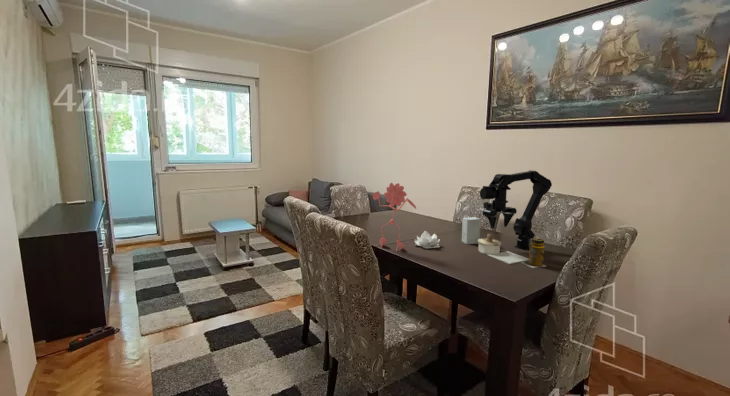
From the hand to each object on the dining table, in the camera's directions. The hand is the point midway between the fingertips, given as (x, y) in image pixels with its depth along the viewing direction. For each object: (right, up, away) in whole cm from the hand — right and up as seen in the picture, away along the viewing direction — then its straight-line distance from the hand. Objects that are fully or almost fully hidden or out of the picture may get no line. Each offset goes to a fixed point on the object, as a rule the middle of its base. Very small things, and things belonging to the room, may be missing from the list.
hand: (498, 227), depth 176 cm
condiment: (+8, -16, -21) cm, 27 cm away
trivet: (0, -14, -12) cm, 18 cm away
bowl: (-6, -13, -2) cm, 14 cm away
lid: (-6, -8, -3) cm, 10 cm away
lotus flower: (-37, -11, +5) cm, 39 cm away
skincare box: (-11, -10, +13) cm, 20 cm away
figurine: (-55, -11, +2) cm, 56 cm away
